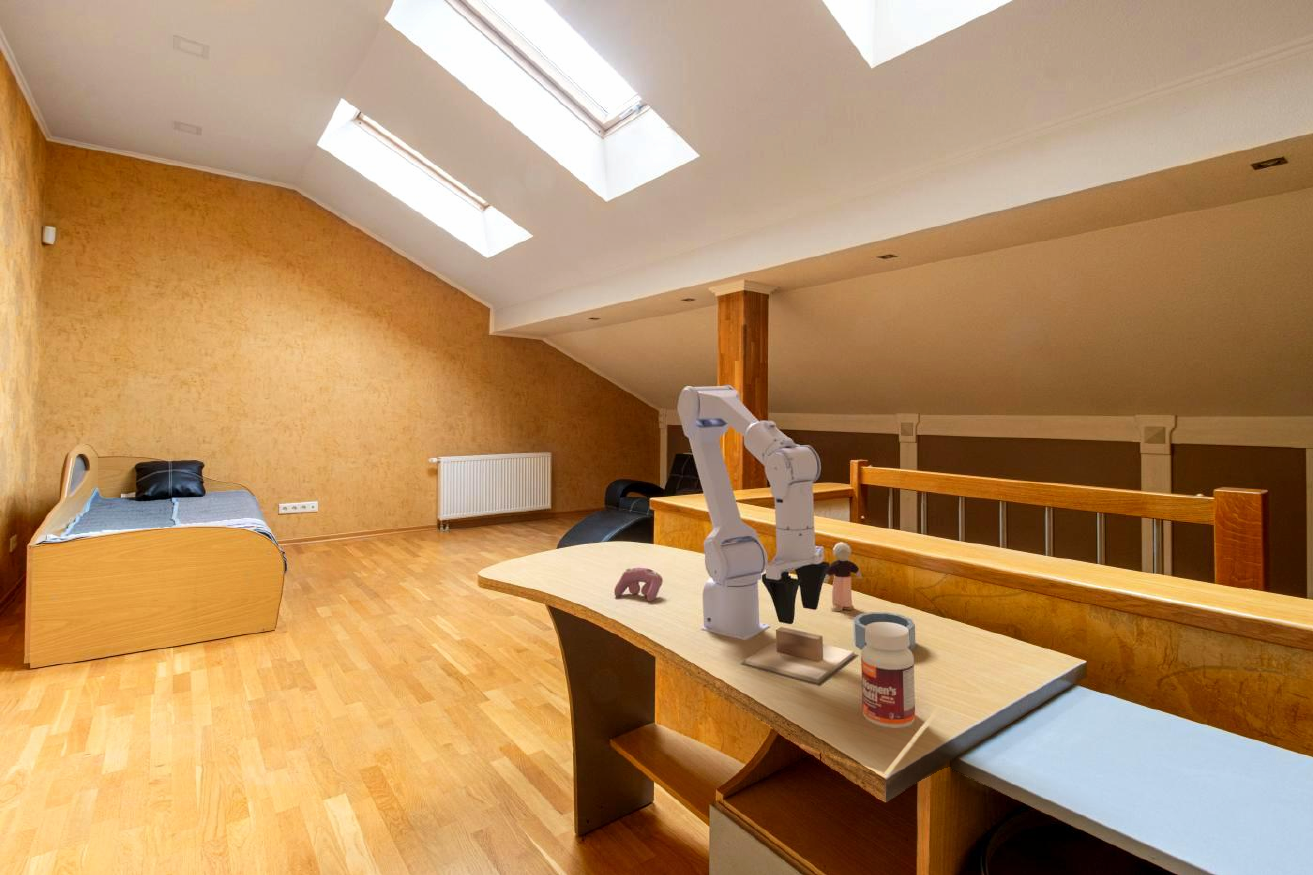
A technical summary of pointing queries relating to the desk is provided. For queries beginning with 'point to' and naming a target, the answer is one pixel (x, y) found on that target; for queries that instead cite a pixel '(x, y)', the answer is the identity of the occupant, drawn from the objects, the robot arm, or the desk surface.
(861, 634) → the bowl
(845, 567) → the grandmother figurine
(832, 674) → the mat
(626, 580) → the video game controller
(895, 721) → the pill bottle
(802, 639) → the lid
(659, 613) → the desk surface
